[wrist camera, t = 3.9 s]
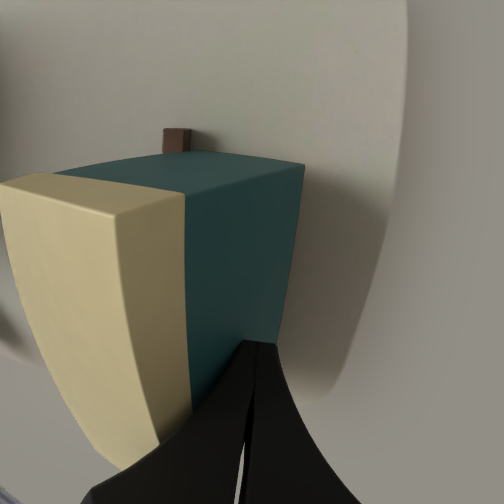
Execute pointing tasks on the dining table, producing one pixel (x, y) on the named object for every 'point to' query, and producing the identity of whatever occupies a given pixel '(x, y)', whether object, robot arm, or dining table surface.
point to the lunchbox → (150, 281)
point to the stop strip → (176, 140)
